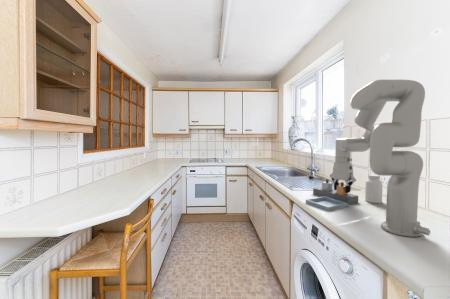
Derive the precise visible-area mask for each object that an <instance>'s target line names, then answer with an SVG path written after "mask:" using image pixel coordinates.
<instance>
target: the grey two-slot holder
mask: <svg viewBox="0 0 450 299" xmlns="http://www.w3.org/2000/svg"><path fill="white" fill-rule="evenodd" d="M312 190H313V191H312V193H313V194H312V195H315V196H318V197H319V196H320V197H324V196H325V197H329V198H332V199H335V200H339V201H342V202H346V203H348V205H351V204H352V205H353V204H357V203H359V195H357V194H353V193H350V192H349V193H348V195H340V194H337V190H334V188H332V191H324V190H322V186H319V187H313V189H312Z"/></svg>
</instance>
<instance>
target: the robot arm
mask: <svg viewBox="0 0 450 299" xmlns="http://www.w3.org/2000/svg"><path fill="white" fill-rule="evenodd" d="M425 96H426V90H425V87H424V85H423V84H422V83H421V82H419V81H417V80H413V79H412V80H411V79H376V80H373V81H371V82H369V83H368V84H366V85H364V86H363V87H362V88H360V89H358V90H356V91H355V93H354V94H353V95H352V96H351V99H350V107H351V108H352V109H353V110H356V111H358V112H357V114H356V115H355V117H354V123H355V124H356V125H357V126H358V127H360V128H363V129H365V131H364V133H363V136H362V137H343V138H342V137H340V138H336V139H335V150H334V151H335V152H334V153H335V154H334V155H335V156H334V157H335V158H334V160H335V161H334V162H333V167H332V173H331V174H329V177H330V179H331V180H332V184H333V190H337V186H338V185H340V183H339V181H345V184H346V185H345V186H346V188H345V192H346V193H349V194H350V193H351V188H352V185H353V184H354V183H355V182H357V178H355V176H354V167H353V163H352V161H353V158H351V153H361V152H362V153H363V152H364V153H365V152H367V151H369V167H370V171H372V172H373V173H374V175H379V176H381V177H382V176H385V177H386V176H390V178H389V179H388V182H387V185H386V186H387V187H386V206H385V210H386V211H385V212H386V213H385V221H382V222H381V223H380V227H381V229H383V230H384V231H386V232H388V233H390V234H394V235H398V236H403V237H410V238H418V237H421V236H422V235H425V236H430V235H431V230H430V228H427V227H425V226H424V227H423V226H422V225H421V221H418V209H419V208H418V206H419V204H418V203H419V190H420V188H419V187H420V185H419V184H420V181H421V180H420V179H421V175H422V171H423V168H424V160H423V158H422V156H421V155H420V154H418V153H417V152H415V151H411V150H393V148H410V147H414V146H416V145H417V144H418V143H419V141H420V137H421V126H422V111H423V106H424V102H425V99H426V97H425ZM387 102H398V103H397V104H395V105H396V106H395V107H394V109H393V111H392V120H391V122H382V123H379V124H377V125H376V126H374V125H375V123H376V121H377V120H378V118H379V116H380V114H381V112H382V111H383V109H384V107H385V106H386V104H387Z"/></svg>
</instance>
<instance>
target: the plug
mask: <svg viewBox="0 0 450 299" xmlns="http://www.w3.org/2000/svg"><path fill="white" fill-rule="evenodd" d="M346 186H347V185H344V182H343V181H342V182H340V184H339V185H338V186H337V194H340V195H348V193H346V192H345V188H346Z"/></svg>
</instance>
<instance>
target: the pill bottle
mask: <svg viewBox="0 0 450 299" xmlns="http://www.w3.org/2000/svg"><path fill="white" fill-rule="evenodd" d="M380 177H381V175H377V174H368V179H366V180H365V187H364V188H365V191H364V192H365V193H364V195H365V202H368V203H371V204H381V203H382V202H383V182H382V181H381V180H380Z"/></svg>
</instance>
